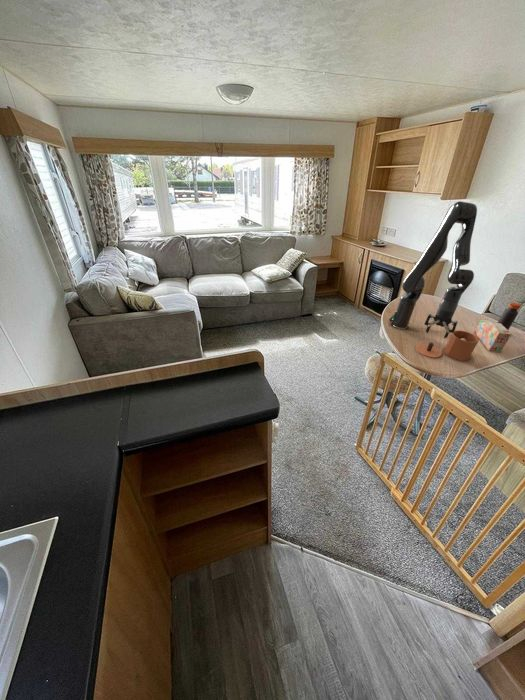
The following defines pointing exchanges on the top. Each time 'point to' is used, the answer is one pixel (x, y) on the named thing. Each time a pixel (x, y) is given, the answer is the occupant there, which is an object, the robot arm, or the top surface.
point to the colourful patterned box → (492, 335)
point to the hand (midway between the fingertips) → (435, 335)
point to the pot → (461, 345)
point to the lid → (428, 350)
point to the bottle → (509, 315)
